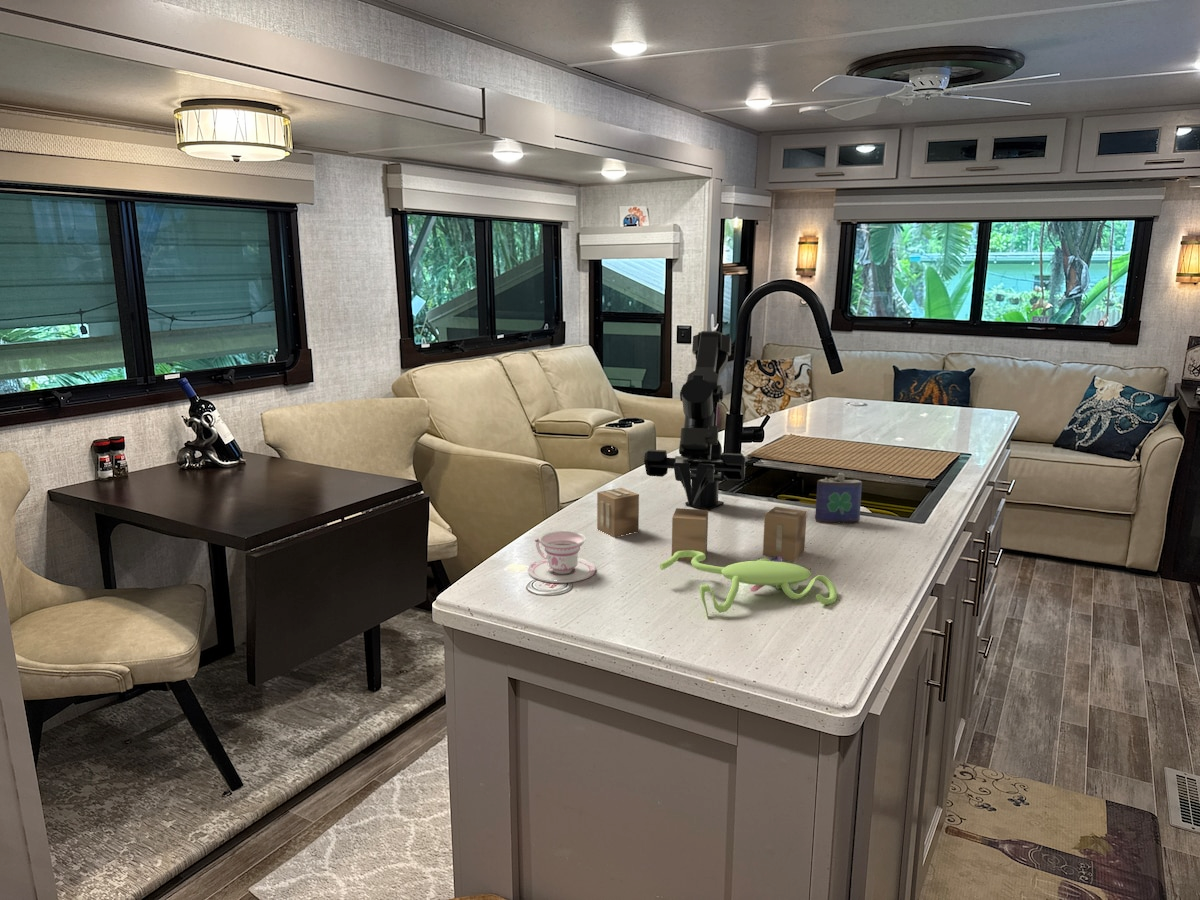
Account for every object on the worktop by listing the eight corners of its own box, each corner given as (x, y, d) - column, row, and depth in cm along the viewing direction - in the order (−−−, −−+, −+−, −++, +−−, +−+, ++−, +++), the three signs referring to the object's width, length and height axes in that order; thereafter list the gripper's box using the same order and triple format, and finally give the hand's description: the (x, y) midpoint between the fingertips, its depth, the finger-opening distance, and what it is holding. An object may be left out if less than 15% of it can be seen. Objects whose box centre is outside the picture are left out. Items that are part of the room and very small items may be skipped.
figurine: (653, 579, 142) (653, 548, 140) (795, 566, 147) (797, 536, 146) (688, 623, 124) (689, 588, 123) (848, 606, 130) (850, 573, 129)
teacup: (603, 563, 148) (603, 530, 147) (584, 587, 137) (584, 552, 136) (541, 557, 151) (540, 525, 150) (517, 580, 140) (516, 546, 139)
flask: (857, 520, 173) (861, 471, 171) (861, 524, 170) (865, 474, 168) (813, 519, 174) (816, 470, 171) (816, 523, 171) (819, 474, 168)
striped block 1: (621, 524, 170) (621, 486, 168) (638, 532, 165) (638, 493, 163) (596, 530, 167) (596, 491, 165) (613, 538, 162) (613, 498, 160)
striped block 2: (773, 546, 157) (775, 505, 155) (804, 551, 154) (806, 510, 152) (762, 556, 152) (764, 513, 150) (794, 561, 149) (796, 518, 147)
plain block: (675, 548, 156) (676, 508, 154) (707, 550, 155) (708, 510, 153) (671, 559, 150) (672, 517, 148) (704, 561, 149) (705, 519, 147)
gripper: (646, 407, 154) (636, 479, 145) (747, 411, 150) (742, 485, 142) (651, 440, 163) (642, 509, 155) (746, 444, 159) (742, 515, 151)
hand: (690, 504), depth 150 cm, fingers closed
